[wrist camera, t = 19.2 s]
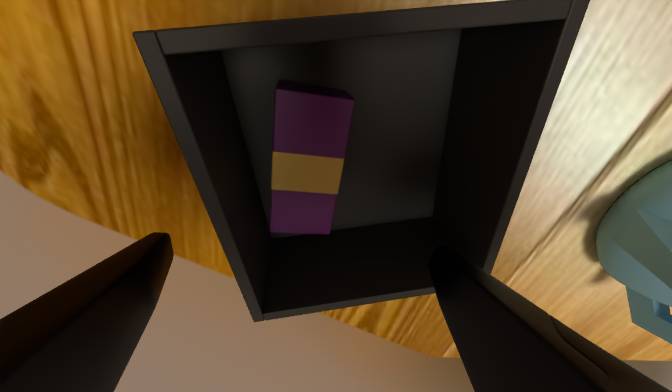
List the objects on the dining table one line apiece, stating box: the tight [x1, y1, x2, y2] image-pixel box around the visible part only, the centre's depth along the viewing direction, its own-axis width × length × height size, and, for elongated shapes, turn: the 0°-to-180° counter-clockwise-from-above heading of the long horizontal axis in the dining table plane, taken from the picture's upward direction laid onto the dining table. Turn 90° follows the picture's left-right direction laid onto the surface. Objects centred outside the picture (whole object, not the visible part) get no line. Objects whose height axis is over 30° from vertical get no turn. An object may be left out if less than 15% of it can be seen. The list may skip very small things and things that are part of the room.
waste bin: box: [132, 0, 590, 322], centre depth 13 cm, size 13×13×6 cm
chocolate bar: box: [270, 80, 355, 234], centre depth 14 cm, size 8×4×2 cm, turn 171°
